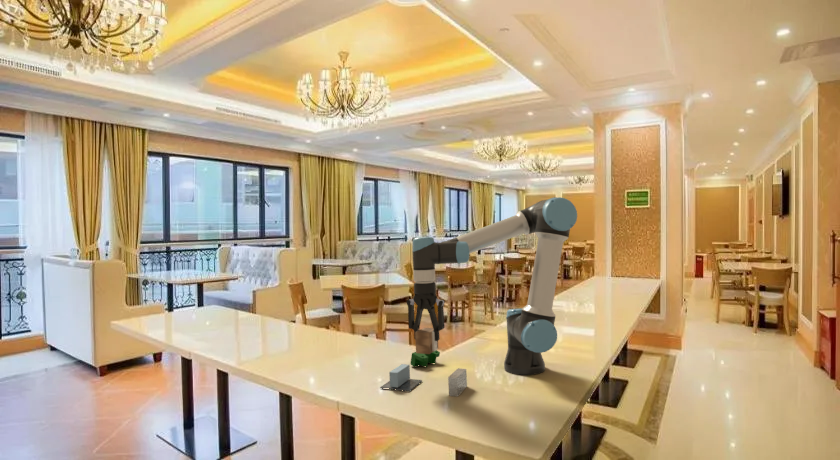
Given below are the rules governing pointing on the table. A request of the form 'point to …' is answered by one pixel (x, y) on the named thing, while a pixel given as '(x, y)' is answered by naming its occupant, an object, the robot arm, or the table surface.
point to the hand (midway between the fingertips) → (427, 349)
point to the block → (424, 341)
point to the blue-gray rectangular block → (399, 375)
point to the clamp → (424, 358)
